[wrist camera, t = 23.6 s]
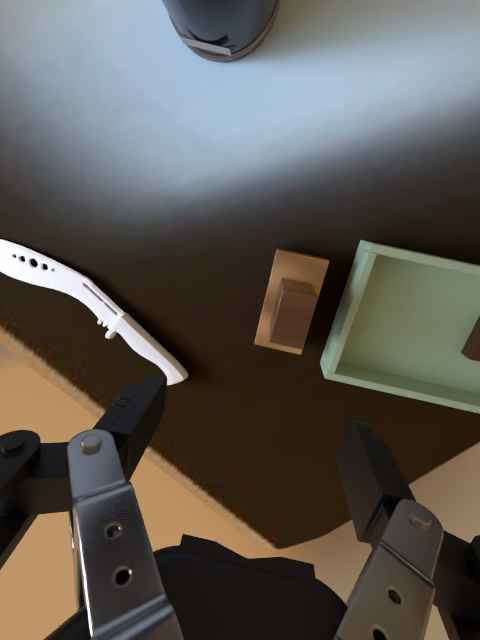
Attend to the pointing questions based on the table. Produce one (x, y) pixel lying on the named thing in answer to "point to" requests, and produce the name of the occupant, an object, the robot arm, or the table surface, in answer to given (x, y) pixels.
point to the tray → (407, 326)
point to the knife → (88, 303)
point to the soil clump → (473, 343)
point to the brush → (290, 300)
